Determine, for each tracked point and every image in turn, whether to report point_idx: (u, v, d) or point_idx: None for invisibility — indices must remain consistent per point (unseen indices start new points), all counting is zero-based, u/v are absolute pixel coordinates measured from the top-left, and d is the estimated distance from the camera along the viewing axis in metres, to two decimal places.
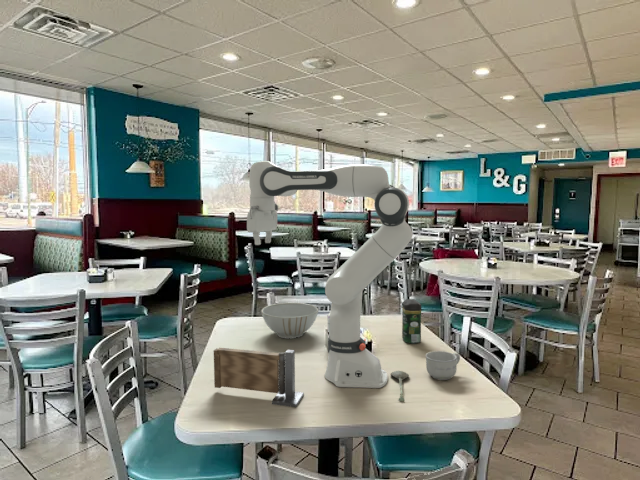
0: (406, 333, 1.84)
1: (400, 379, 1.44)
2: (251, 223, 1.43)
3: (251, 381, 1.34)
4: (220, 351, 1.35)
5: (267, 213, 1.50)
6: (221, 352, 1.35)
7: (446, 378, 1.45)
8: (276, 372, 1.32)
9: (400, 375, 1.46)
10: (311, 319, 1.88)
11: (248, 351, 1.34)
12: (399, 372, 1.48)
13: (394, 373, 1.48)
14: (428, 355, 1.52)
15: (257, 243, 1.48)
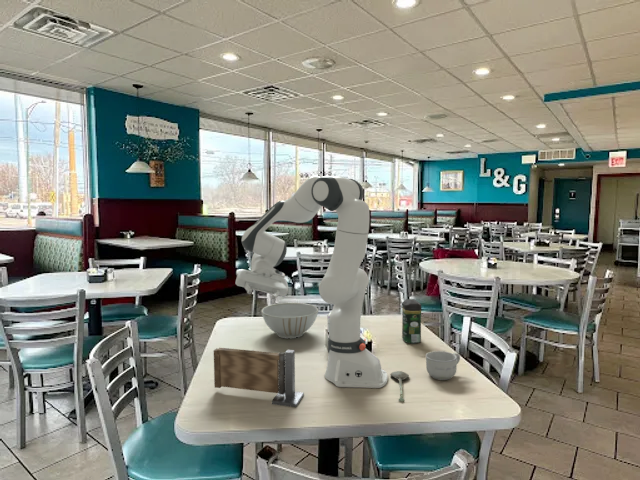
0: (406, 333, 1.84)
1: (400, 379, 1.44)
2: None
3: (251, 381, 1.34)
4: (220, 351, 1.35)
5: (260, 272, 1.60)
6: (221, 352, 1.35)
7: (446, 378, 1.45)
8: (276, 372, 1.32)
9: (400, 375, 1.46)
10: (311, 319, 1.88)
11: (248, 351, 1.34)
12: (399, 372, 1.47)
13: (394, 373, 1.47)
14: (428, 355, 1.52)
15: (248, 290, 1.51)
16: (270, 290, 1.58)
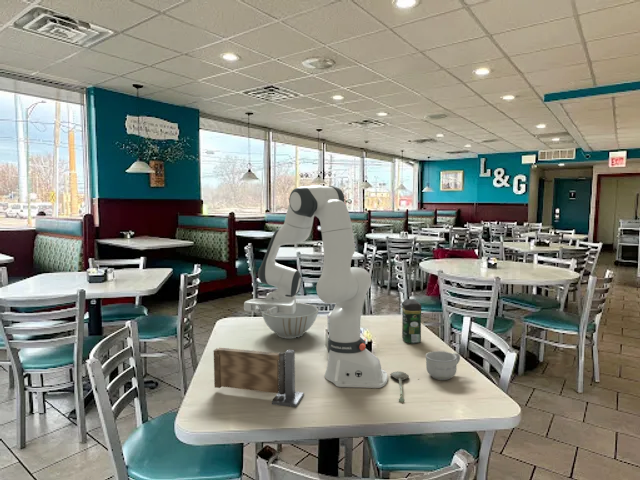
0: (406, 333, 1.84)
1: (400, 380, 1.43)
2: None
3: (251, 381, 1.34)
4: (220, 351, 1.35)
5: (269, 297, 1.65)
6: (221, 352, 1.35)
7: (446, 378, 1.45)
8: (276, 372, 1.32)
9: (400, 376, 1.46)
10: (311, 319, 1.88)
11: (248, 351, 1.34)
12: (399, 373, 1.47)
13: (394, 374, 1.47)
14: (428, 355, 1.52)
15: None
16: None
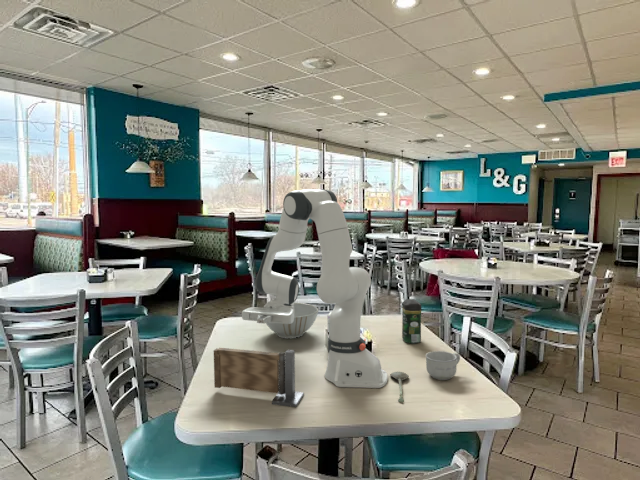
0: (406, 333, 1.84)
1: (400, 380, 1.43)
2: None
3: (251, 381, 1.34)
4: (220, 351, 1.35)
5: (267, 306, 1.64)
6: (221, 352, 1.35)
7: (446, 378, 1.45)
8: (276, 372, 1.32)
9: (400, 376, 1.45)
10: (311, 319, 1.88)
11: (248, 351, 1.34)
12: (399, 373, 1.47)
13: (394, 374, 1.47)
14: (428, 355, 1.52)
15: None
16: (274, 319, 1.58)
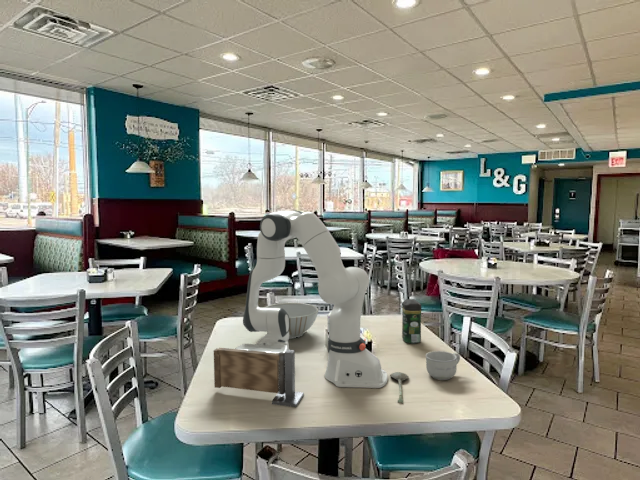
0: (406, 333, 1.84)
1: (399, 380, 1.43)
2: None
3: (251, 381, 1.34)
4: (220, 351, 1.35)
5: (261, 342, 1.58)
6: (221, 352, 1.35)
7: (446, 378, 1.45)
8: (276, 372, 1.32)
9: (399, 376, 1.45)
10: (311, 319, 1.88)
11: (248, 351, 1.34)
12: (399, 373, 1.47)
13: (393, 374, 1.47)
14: (428, 355, 1.52)
15: None
16: None
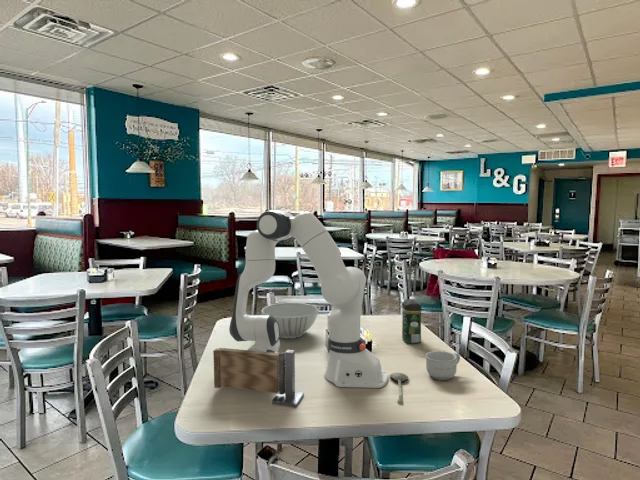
0: (406, 333, 1.84)
1: (399, 381, 1.42)
2: None
3: (251, 381, 1.34)
4: (220, 351, 1.35)
5: None
6: (221, 352, 1.35)
7: (446, 378, 1.45)
8: (276, 372, 1.32)
9: (399, 377, 1.44)
10: (311, 319, 1.88)
11: (248, 351, 1.34)
12: (398, 374, 1.46)
13: (393, 375, 1.46)
14: (428, 355, 1.52)
15: None
16: None
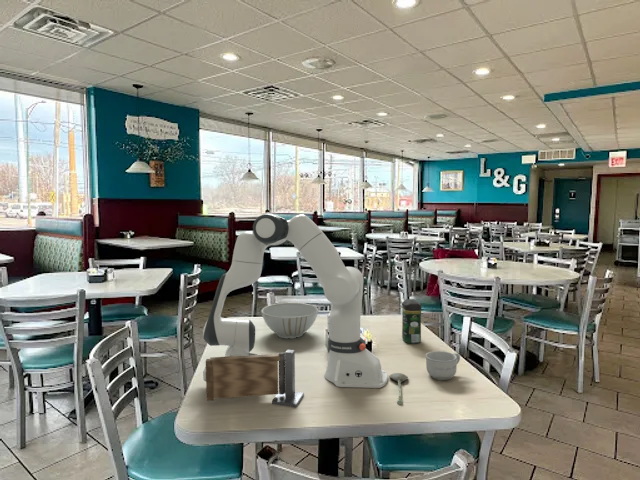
0: (406, 333, 1.84)
1: (399, 381, 1.42)
2: None
3: (249, 387, 1.30)
4: (213, 361, 1.27)
5: None
6: (215, 362, 1.27)
7: (446, 378, 1.45)
8: (276, 373, 1.31)
9: (399, 377, 1.44)
10: (311, 319, 1.88)
11: (245, 356, 1.29)
12: (398, 374, 1.46)
13: (393, 375, 1.46)
14: (428, 355, 1.52)
15: None
16: None
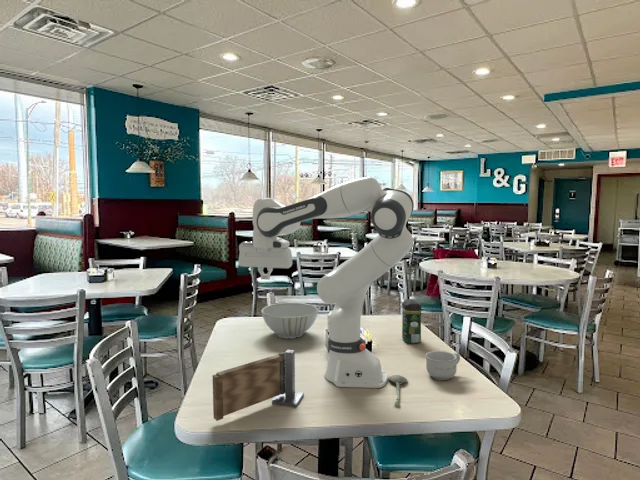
0: (406, 333, 1.84)
1: (397, 384, 1.40)
2: None
3: (255, 394, 1.25)
4: (223, 375, 1.17)
5: (258, 250, 1.51)
6: (225, 376, 1.17)
7: (446, 378, 1.45)
8: (278, 374, 1.30)
9: (398, 380, 1.42)
10: (311, 319, 1.88)
11: (250, 364, 1.24)
12: (397, 376, 1.44)
13: (392, 377, 1.44)
14: (428, 355, 1.52)
15: None
16: None
